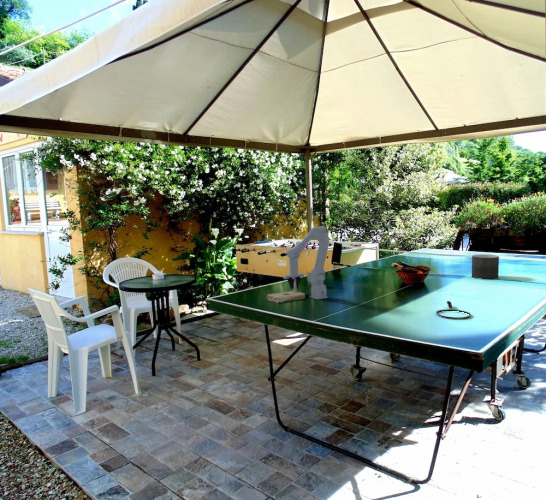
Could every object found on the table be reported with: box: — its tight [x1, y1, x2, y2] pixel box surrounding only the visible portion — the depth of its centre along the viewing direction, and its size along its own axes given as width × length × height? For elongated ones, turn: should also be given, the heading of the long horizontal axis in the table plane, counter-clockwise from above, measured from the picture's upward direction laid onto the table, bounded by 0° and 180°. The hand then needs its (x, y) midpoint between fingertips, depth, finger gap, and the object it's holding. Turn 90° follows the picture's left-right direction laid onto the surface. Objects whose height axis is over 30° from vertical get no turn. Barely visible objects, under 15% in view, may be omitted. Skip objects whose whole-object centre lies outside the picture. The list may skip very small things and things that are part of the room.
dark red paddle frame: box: [435, 300, 472, 319], centre depth 229 cm, size 28×16×3 cm, turn 166°
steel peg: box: [291, 278, 298, 292], centre depth 285 cm, size 3×3×10 cm
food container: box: [305, 271, 311, 288], centre depth 308 cm, size 12×6×10 cm, turn 62°
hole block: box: [266, 290, 306, 304], centre depth 271 cm, size 12×20×3 cm, turn 120°
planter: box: [471, 254, 500, 280], centre depth 323 cm, size 18×18×16 cm
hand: (294, 288), depth 285 cm, fingers closed on steel peg, 3 cm apart
